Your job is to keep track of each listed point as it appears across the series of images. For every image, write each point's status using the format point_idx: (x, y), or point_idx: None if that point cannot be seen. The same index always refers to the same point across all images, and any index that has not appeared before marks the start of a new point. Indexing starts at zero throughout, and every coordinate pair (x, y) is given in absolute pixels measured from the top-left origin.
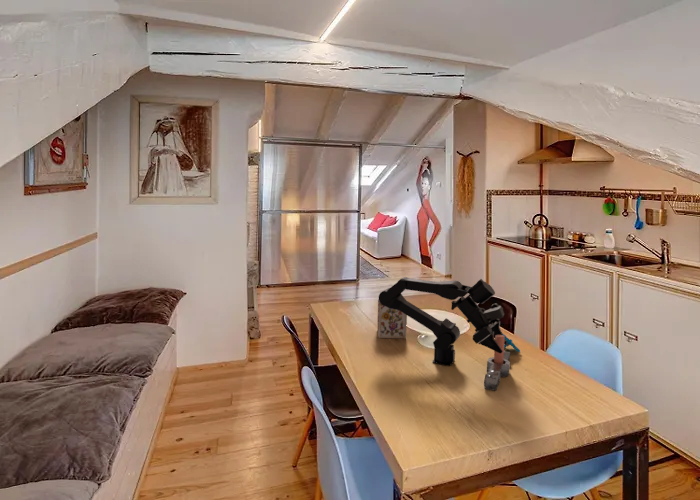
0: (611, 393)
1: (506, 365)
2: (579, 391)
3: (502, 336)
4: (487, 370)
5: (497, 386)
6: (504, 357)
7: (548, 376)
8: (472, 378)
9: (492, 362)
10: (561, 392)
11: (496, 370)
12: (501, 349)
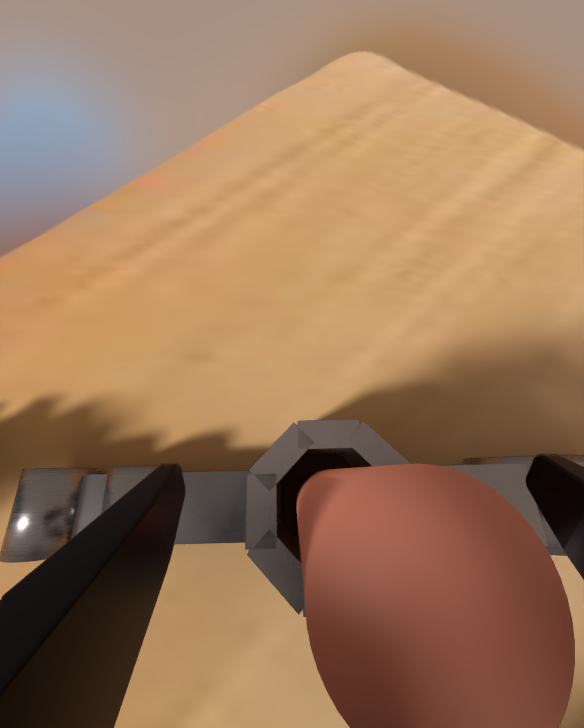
0: (286, 96)
1: (376, 433)
2: (328, 164)
3: (420, 526)
4: None
5: None
6: None
7: (237, 259)
8: None
9: None
10: (378, 210)
11: (526, 486)
12: (572, 469)
